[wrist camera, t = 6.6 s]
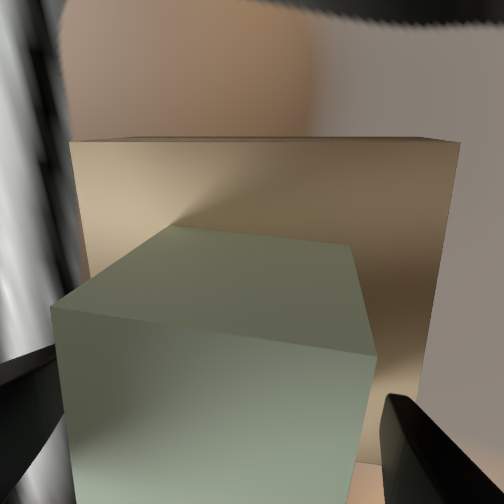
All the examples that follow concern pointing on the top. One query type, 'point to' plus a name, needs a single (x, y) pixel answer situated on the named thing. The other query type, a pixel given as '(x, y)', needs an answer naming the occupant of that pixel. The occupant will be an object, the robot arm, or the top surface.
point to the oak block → (292, 219)
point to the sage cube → (216, 371)
